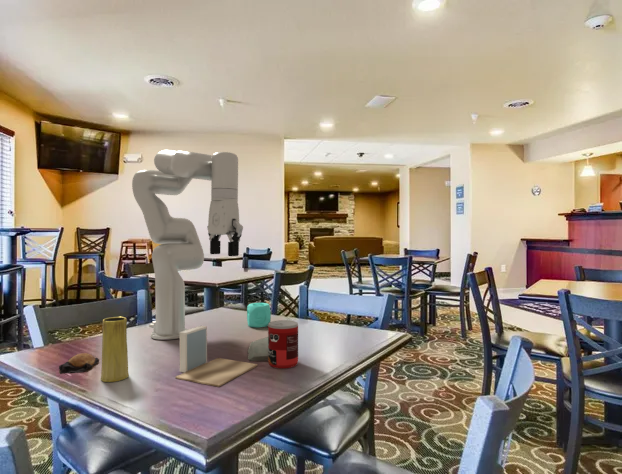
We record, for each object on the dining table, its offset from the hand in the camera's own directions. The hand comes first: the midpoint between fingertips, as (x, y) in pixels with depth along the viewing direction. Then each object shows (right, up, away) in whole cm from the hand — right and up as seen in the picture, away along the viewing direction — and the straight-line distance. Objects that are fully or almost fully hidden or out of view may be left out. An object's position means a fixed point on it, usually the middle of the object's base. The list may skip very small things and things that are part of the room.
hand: (224, 254), depth 115 cm
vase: (-22, -29, -19) cm, 41 cm away
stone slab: (+11, -29, +5) cm, 32 cm away
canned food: (+18, -29, -9) cm, 35 cm away
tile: (-5, -29, -12) cm, 32 cm away
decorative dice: (+5, -29, +36) cm, 47 cm away
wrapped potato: (-36, -30, -10) cm, 48 cm away
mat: (+2, -29, -15) cm, 33 cm away
